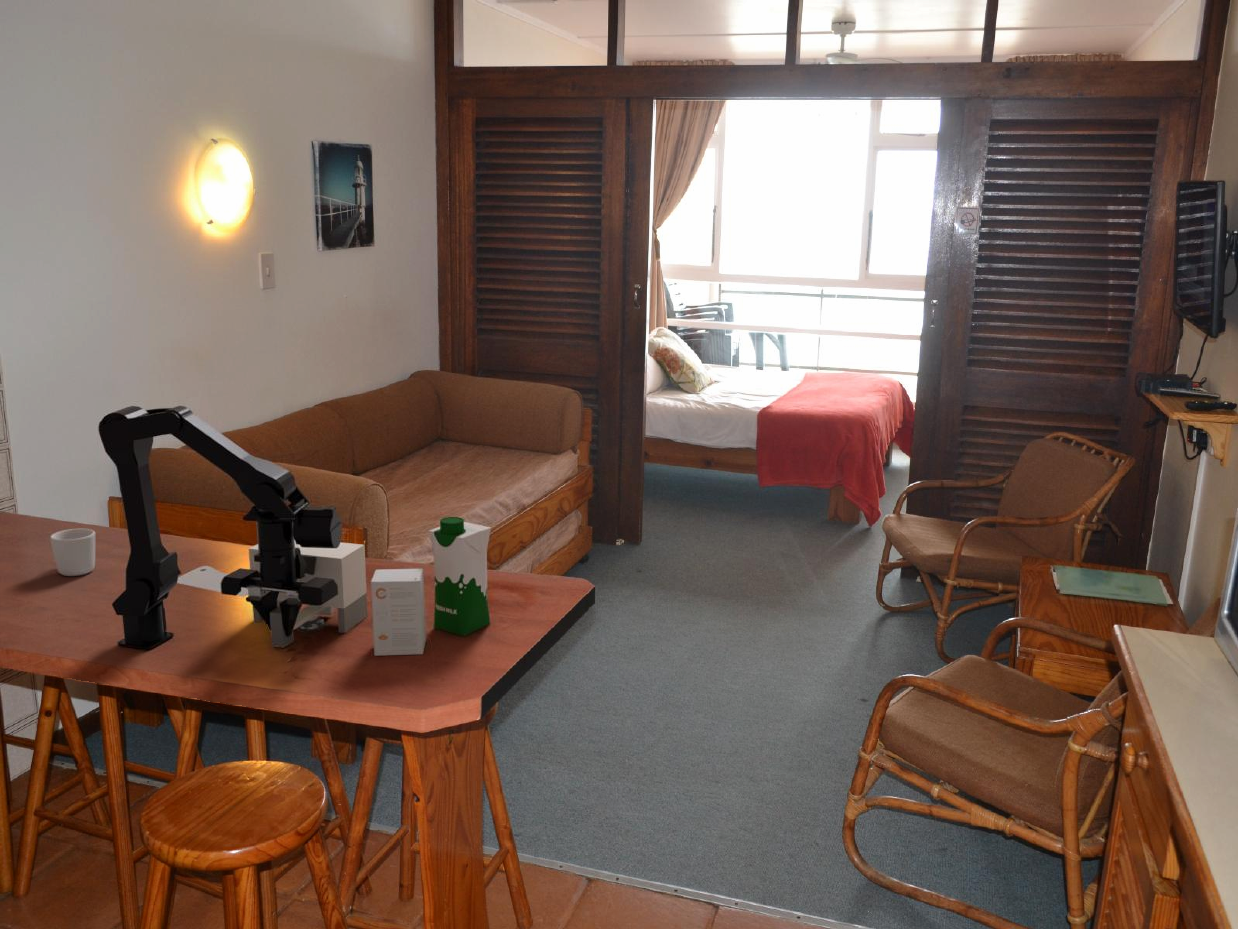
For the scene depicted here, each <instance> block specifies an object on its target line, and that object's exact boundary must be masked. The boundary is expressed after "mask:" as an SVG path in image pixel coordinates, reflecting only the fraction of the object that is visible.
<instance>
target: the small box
mask: <svg viewBox="0 0 1238 929" xmlns="http://www.w3.org/2000/svg"><path fill="white" fill-rule="evenodd" d="M424 581H425V580H424V568H396V569H395V568H392V569H390V568H387V569H375V571H374V573H373V575H372V578H371V580H370V592H371V595H370V596H371V597H370V598H371V613H372V614H371V615H372V616H371V617H372V637H373V652H374V653H373V654H374V656H375V657H376V656H378V657H379V656H403V655H405V656H407V655H409V656H411V655H423V654H424V650H425V646H426V641H427V630H426V628H427V627H426V607H425V606H426V605H425V604H426V603H425V582H424Z"/></svg>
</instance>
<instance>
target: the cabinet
mask: <svg viewBox="0 0 1238 929" xmlns="http://www.w3.org/2000/svg"><path fill="white" fill-rule="evenodd" d="M295 548H300V551H301V555H304V556H313V557H316V564H315V571H314V575H310V574H305V577H303V578H302V579H297V582H305V583H306V582H308V581H309V580H311V579H313V578H314V577H320V578H328V579H334V581H335V582H336V583H337V585H338V595H336V596H335V597H333V598H332V599H330V600H329V601H327V602H326V603H324V604H323V605H319V606H328V607H333V608H336V609H337V616H338V617H337V618H338V619H337V621H338V633H344V634H346V633H347V632H349V631H350V630H351V629H352V628H354V627H355V626H356V625H359V624H360V623H361V622H362V621H363V620H365V619H366V618H368V616H369V615H368V599H367V598H368V597H367V596H368V595H367V594H368V592H367V572H366V570H367V569H366V554H365V553H366V552H365V551H366V549H365V544H360V543H359V544H358V543H350V542H349V543H348V542H342V541H341V542H340V545H339V547H338V548H306V547H301V546H300V545H298V544H296V542H295ZM258 553H259V551H258V543H257V544H255V545H253V546H251V547H248V558H249V569H250V570H257V571H258V572H259V573H260V566H259V562H255V561H254V555H256V554H258ZM285 599H287V594H286V593H284V592H279V595H278V598H277V607H279V606H280V605H279V603H280V602H282V601H284V600H285ZM252 614H253V622H258V623H260V622H262V621H264V620H263V619H262V617H261V616H260V614H259V613H258V612H257V610H256V609H255V608H254V606H253V605H252Z"/></svg>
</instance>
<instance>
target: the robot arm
mask: <svg viewBox="0 0 1238 929" xmlns="http://www.w3.org/2000/svg"><path fill="white" fill-rule="evenodd" d="M98 434H99V437H100V441H101V443H102V447H103V448H104V452H105V453H106V455H107V456H108V457H109V458H110V460H111V461H112V463H113V464H114V465H115V467H116V472H117V477H118V483H119V489H120V495H121V501H122V507H123V514H124V519H125V525H126V530H127V537H128V541H129V548H130V549H129V550H130V552H129V557H128V561H127V562H126V563H127V564H126V568H125V590H124V591H123V592H122V593H120V595H119V596H117V598H116V599H115V600H114V601H113V602H112V603H111V606H112V608H113V610H114V612H115V615H116V616H122V626H123V635H124V638H122V639H120V640H118V641H117V642H116V643H117V646H119V647H127V648H135V649H141V650H151V649H154V648H156V647H157V646H158V645H161V644H162V643H163V642H165V641H167V640H169V639H170V638H173V637H174V636H175V633H174V632H172V631H167V620H166V619H167V618H166V617H167V616H166V610H165V607H164V600H167V599H168V598H169V595H170V591H172V590H173V588H174V587H175V586H176V585H177V584H178V583H177V581H178V577H179V576H181V574H182V572H181V569H180V568H179V565H178V563H179V562H178V557H179V556H178V552H177V551H172V552H168V550H167V549H166V548H165V547H164V545H163V543H162V537H161V533H160V531H161V530H160V526H159V520H158V513H157V508H156V501H155V495H154V494H155V493H154V488H153V484H152V483H153V482H152V476H151V471H150V465H149V464H150V463H149V462H150V461H149V459H150V455H151V452H152V449H153V444H154V437H159V436H160V437H161V436H166V435H171V436H173V437H174V438H176V439H177V440H179V441H180V442H181V443H183V444H184V445H185V446H187V447H189V448H190V449H191V450H192V451H193V452H195V453H196V454H198V455H200V456H201V457H203V458H204V459H205V460H206V461H208V462H209V463H211V464H212V465H214V466H215V467H216V468H218V469H219V470H220V471H222V472H224V474H226V475H228V477H230V478H231V479H232V480H233V481H234V482H235V483H236V485H237V487H238V490H240V492H241V494H242V495H243V496H244V497H245V498H247V500H249V501H250V502H251V503H252V504H253V505H252V506H251V508H250V509H249V511H248V512H247V513H246V514H245V515H244V516H242V520H243V521H244V522H256V535H257V544H258V551H259V553H258V554H256V555H254V561H255V562H259V566H260V573H259V572H258V571H257V570H250V568H249V569H248V568H240V567H239V568H237V569H236V570H234V571H232V572H230V573H228V575H226V576H224V577H223V579H222V581H221V583H220V584H221V592H220V594H222V595H226V596H235V597H236V596H237V595H238V594H239V593H240V592H241V587H242V588H247V589H248V595H247V596H246V597H245V602H247V603H250V604H251V605H252V607H253V606H254V608H255V609H256V610H257V612H258V613H259V614H260V616H261V617H262V619H263V620H262V621H263V622H264V623H265V625H266V626H267V628H268V629H269V632H271V626H270V612H271V611H272V610H274V609H276V608H277V598H278V595H279V592H284V593H286V594H287V599H285V600H284V601H282V602H280V603H279V605H280V610H281V616H282V621H283V627H284V631H285V634H286V636H287V637H289V636H290V635H291V634H292V632H293V633H294V630H295V629H294V625H295V622H296V619H297V616H298V613H299V611H301V608H302V606H303V605H307V606H308V605H315V606H319V605H323V604H324V603H326V602H327V601H329V600H330V599H332V598H333V597H335V596H336V595H338V585H337V583H336V582H335V581H334V579H328V578H320V577H314V578H313V579H311V580H309V581H308V582H306V583H305V582H297V579H302V578H303V577H305V574H310V575H314V571H315V564H316V557H313V556H304V555H301V551H300V548H295V542H296V544H298V545H300V546H301V547H306V548H338V547H339V545H340V542H342V537H343V522H342V521H341V518H340V515H339V514H338V513H337V506H334V505H327V506H311V501H310V500H308V498H307V497H306V495H304V493H303V492H302V491H301V489H300V488H299V487H298V485H297V483H296V478H295V476H294V475H293V473H292V472H291V471H289V470H288V469H286V468H284V467H283V466H280V465H278V464H277V463H274V462H272V461H270V460H267V459H263V458H259V457H256V456H254V455H252V454H251V453H249V452H247V451H246V450H245V449H243V448H242V447H241V446H240V445H237V444H236V443H234V441H233V440H231V439H229V438H228V437H226V436H225V435H224V434H223V433H221V432H220V431H218V430H217V429H215V428H214V427H213V426H211V425H209V424H208V423H207V422H206V421H204V420H203V419H201V418H200V417H198V416H197V415H196V414H194V412H193V411H192V410H191V408H189V407H186V406H184V405H178V406H174V407H159V408H157V407H156V408H151V409H144V408H142V407H140V406H138V405H136V406H135V405H131V406H127V407H124V408H121V409H118V410H116V411H113V412H110V413H108V414H106V415H105V416H103V418H102V419H100V421H99V423H98ZM287 501H288V502H290V503H289V504H288V503H286V502H287ZM293 629H294V630H293Z"/></svg>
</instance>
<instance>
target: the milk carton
mask: <svg viewBox="0 0 1238 929" xmlns="http://www.w3.org/2000/svg"><path fill="white" fill-rule="evenodd" d="M491 529H492V527H490V526H485V525H481V524H476V523H472V522H467V521H465V520H464V518H462V517H458V516H447V517H443V518H441V519H440V520H439V526H438V527H435V528H432V529H430V530H428V535H429V539H430V543H431V546H432V552H433V576H434V579H433V583H434V614H433V615H434V616H433V617H434V618H433V628H434V629H437V630H441V631H445V632H448V633H451V634H454V635H459V636H462V637H466V636H469V635H470V634H472V633H474V632H476V631H478V630H480V629H482V628H484V627H486V626H488V625H490V624H491V619H490V618H491V617H490V610H489V609H490V608H489V602H488V600H489V599H488V563H487V562H488V559H487V556H488V553H487V552H488V547H489V540H490V535H491V531H492V530H491Z"/></svg>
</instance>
